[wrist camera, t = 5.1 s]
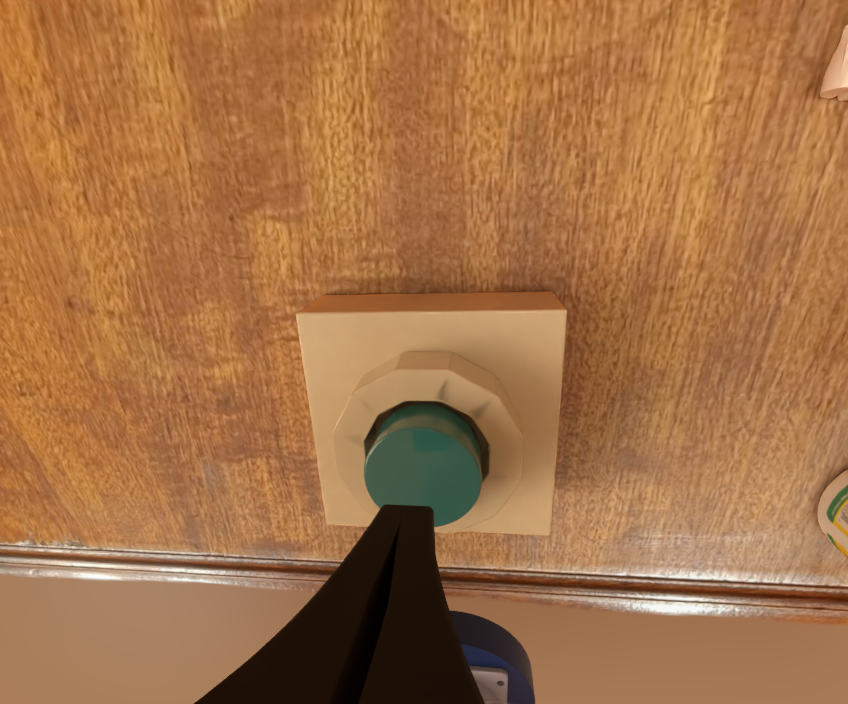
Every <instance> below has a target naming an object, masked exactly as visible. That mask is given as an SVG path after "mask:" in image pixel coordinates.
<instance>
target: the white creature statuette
mask: <svg viewBox="0 0 848 704" xmlns="http://www.w3.org/2000/svg"><path fill="white" fill-rule="evenodd" d="M837 95H838V101H848V24H847V25H846V26H845V28H844V31H843V33H842V37H841V40H840V43H839V45H838V47H837V49H836V50H835V52H834V54H833V56H832V59H831V62H830V64H829V66H828V68H827V70H826V72H825V75H824V78H823V83H822V87H821V91H820V97H822V98H828V99H831V98H834V97H835V96H837Z"/></svg>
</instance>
